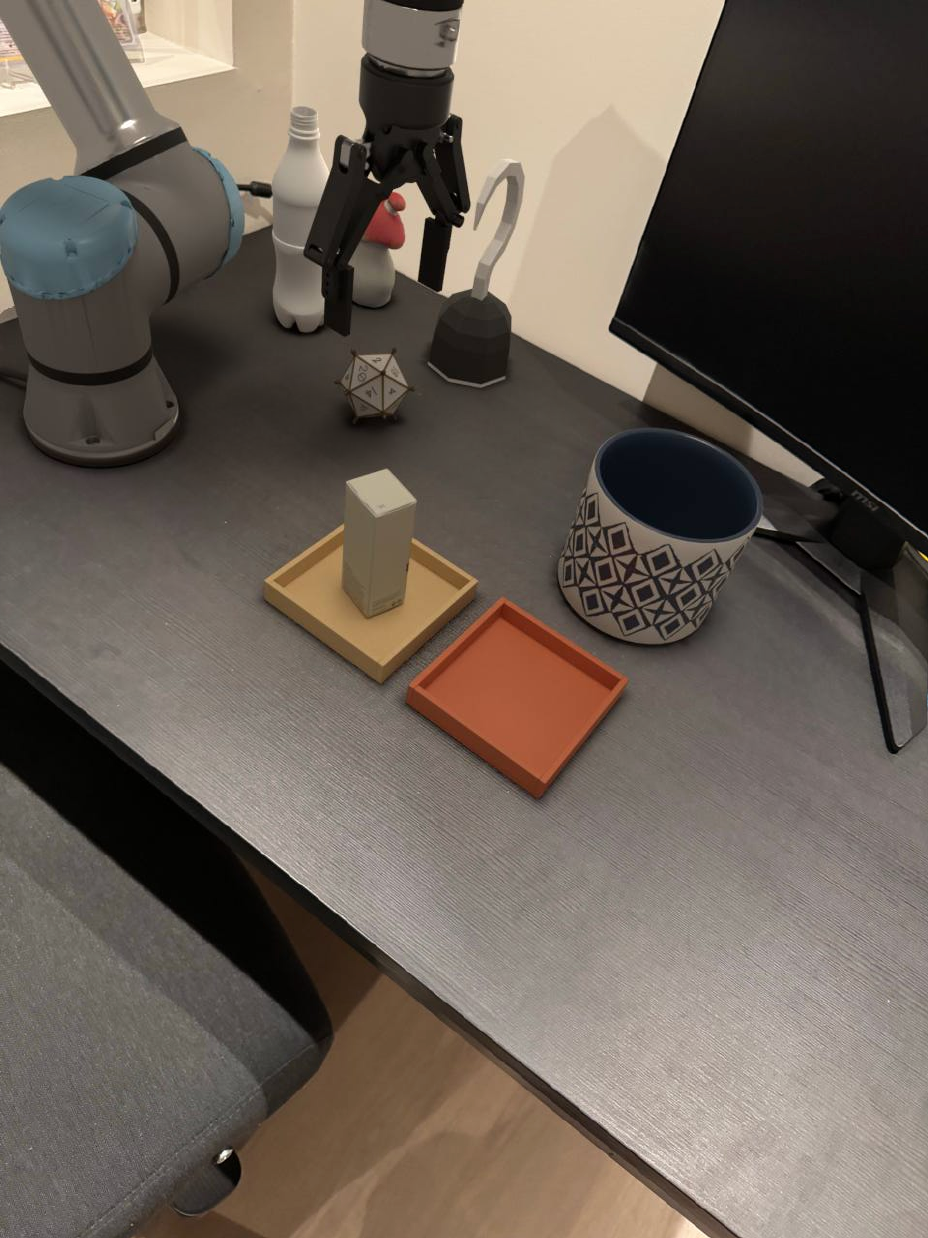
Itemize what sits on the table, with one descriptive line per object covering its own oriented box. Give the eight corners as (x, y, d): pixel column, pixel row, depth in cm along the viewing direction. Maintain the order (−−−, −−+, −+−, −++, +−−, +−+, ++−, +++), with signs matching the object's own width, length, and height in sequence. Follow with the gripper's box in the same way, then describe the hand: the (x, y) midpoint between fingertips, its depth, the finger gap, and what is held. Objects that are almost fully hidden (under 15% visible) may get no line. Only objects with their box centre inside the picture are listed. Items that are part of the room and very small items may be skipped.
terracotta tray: (404, 702, 73) (408, 684, 71) (497, 613, 82) (502, 596, 80) (538, 799, 69) (545, 783, 67) (621, 696, 78) (629, 679, 76)
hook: (486, 398, 105) (529, 193, 86) (410, 365, 107) (436, 157, 88) (523, 359, 112) (571, 162, 93) (451, 328, 114) (484, 129, 96)
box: (405, 604, 80) (421, 502, 70) (365, 620, 78) (377, 518, 68) (376, 567, 82) (388, 465, 73) (337, 583, 80) (343, 479, 71)
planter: (545, 530, 91) (579, 420, 80) (683, 537, 94) (734, 432, 83) (570, 645, 81) (613, 538, 70) (724, 650, 83) (788, 547, 73)
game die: (380, 448, 101) (400, 425, 92) (316, 411, 99) (330, 383, 90) (412, 386, 103) (435, 358, 93) (351, 348, 101) (368, 315, 91)
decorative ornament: (406, 307, 116) (419, 196, 105) (368, 318, 113) (377, 205, 101) (365, 275, 120) (373, 165, 109) (327, 285, 116) (332, 172, 105)
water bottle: (274, 304, 111) (271, 94, 92) (329, 309, 112) (337, 103, 94) (272, 334, 107) (269, 119, 88) (329, 339, 108) (338, 128, 89)
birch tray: (264, 599, 78) (263, 580, 76) (364, 525, 87) (366, 507, 85) (380, 684, 74) (383, 666, 72) (474, 598, 83) (478, 580, 81)
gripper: (332, 103, 58) (322, 369, 74) (535, 54, 73) (491, 285, 89) (256, 66, 61) (263, 331, 77) (468, 25, 75) (436, 255, 91)
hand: (385, 306), depth 83 cm, fingers open, 13 cm apart
